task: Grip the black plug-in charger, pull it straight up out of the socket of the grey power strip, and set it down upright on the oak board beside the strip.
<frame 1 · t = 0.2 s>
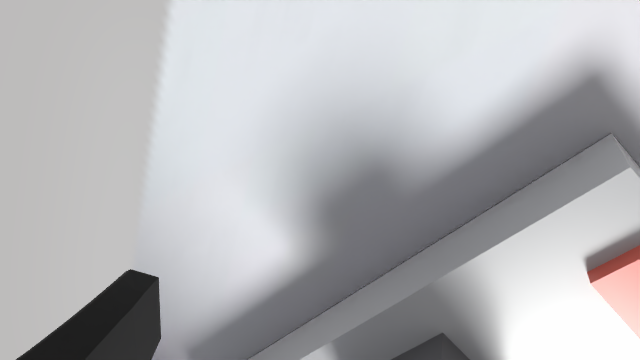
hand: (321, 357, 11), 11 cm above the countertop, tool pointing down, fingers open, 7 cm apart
charger: (428, 345, 25), resting in power strip
power strip: (428, 345, 25), on the countertop
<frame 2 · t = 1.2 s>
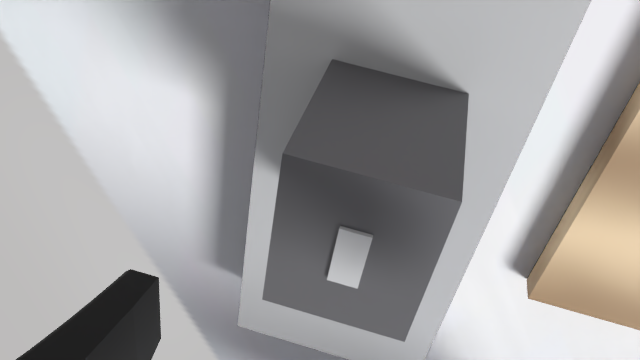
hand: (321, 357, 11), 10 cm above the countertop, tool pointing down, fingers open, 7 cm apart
charger: (391, 108, 20), resting in power strip
power strip: (391, 108, 20), on the countertop
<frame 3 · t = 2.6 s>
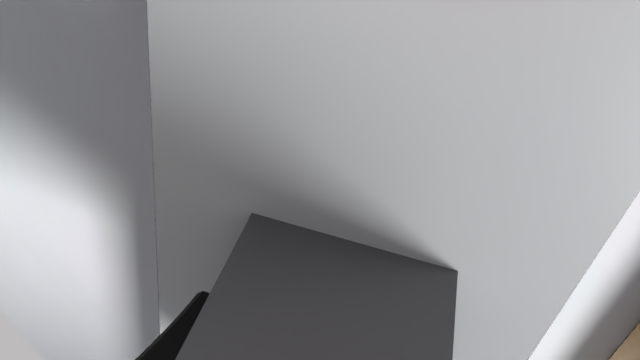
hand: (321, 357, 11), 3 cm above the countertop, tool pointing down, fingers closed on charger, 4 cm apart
charger: (353, 245, 14), resting in power strip, touching gripper
power strip: (353, 245, 14), on the countertop
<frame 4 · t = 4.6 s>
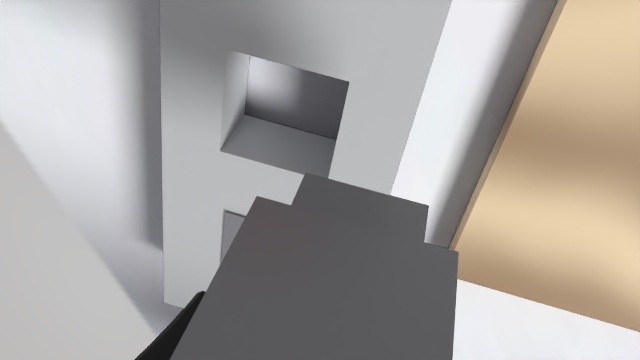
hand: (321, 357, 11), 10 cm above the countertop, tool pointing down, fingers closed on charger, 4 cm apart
charger: (355, 231, 14), point 7 cm above the countertop, touching gripper
power strip: (300, 83, 20), on the countertop
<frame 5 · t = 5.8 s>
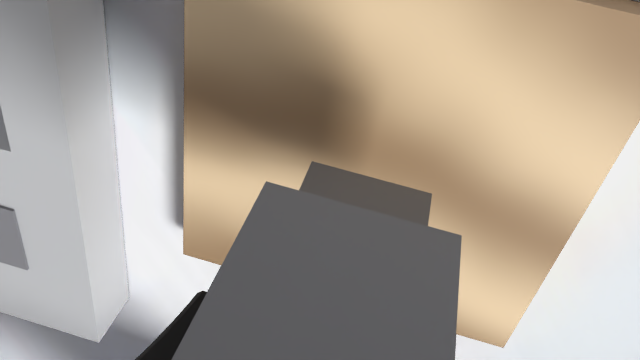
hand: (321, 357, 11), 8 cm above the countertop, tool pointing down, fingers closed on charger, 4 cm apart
charger: (360, 219, 15), point 4 cm above the countertop, touching gripper
oak board: (379, 151, 18), on the countertop
when the fingers open (6 cm above the countertop, at t = 6.6 s): charger stays where it is, resting on oak board.
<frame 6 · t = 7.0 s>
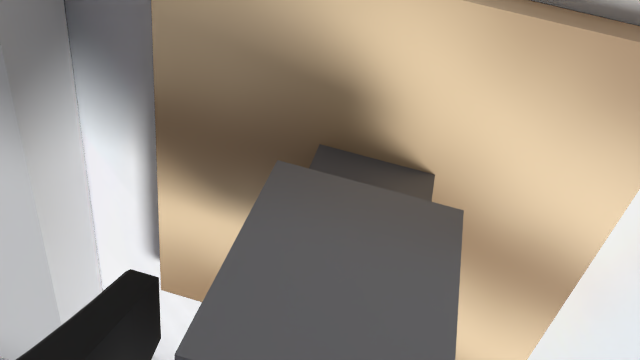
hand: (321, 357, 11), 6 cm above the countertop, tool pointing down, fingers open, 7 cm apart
charger: (365, 201, 15), point 1 cm above the countertop, touching oak board
oak board: (369, 186, 16), on the countertop
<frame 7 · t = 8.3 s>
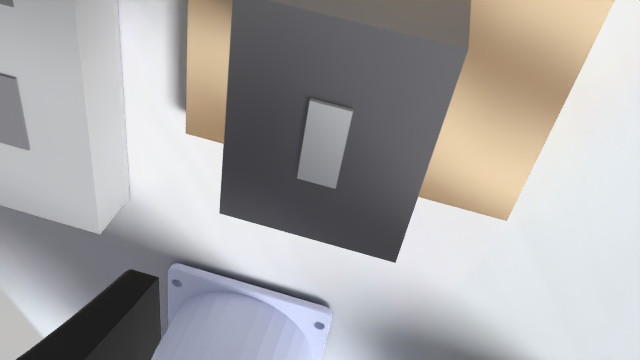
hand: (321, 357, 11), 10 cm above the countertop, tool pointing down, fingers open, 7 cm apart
charger: (380, 11, 17), point 1 cm above the countertop, touching oak board
oak board: (383, 6, 18), on the countertop
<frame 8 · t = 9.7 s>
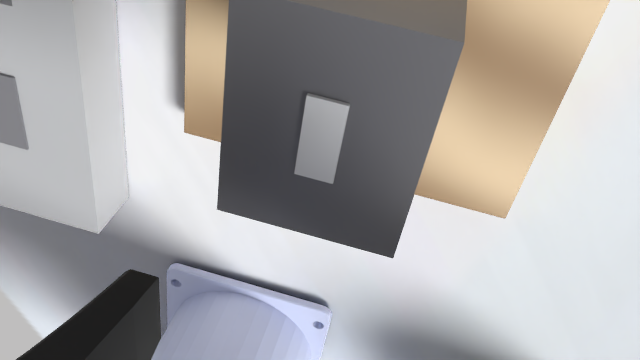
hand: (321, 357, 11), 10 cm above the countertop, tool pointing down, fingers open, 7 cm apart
charger: (378, 9, 17), point 1 cm above the countertop, touching oak board
oak board: (381, 4, 18), on the countertop
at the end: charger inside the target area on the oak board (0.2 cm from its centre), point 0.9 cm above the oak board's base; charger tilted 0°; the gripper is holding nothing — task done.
